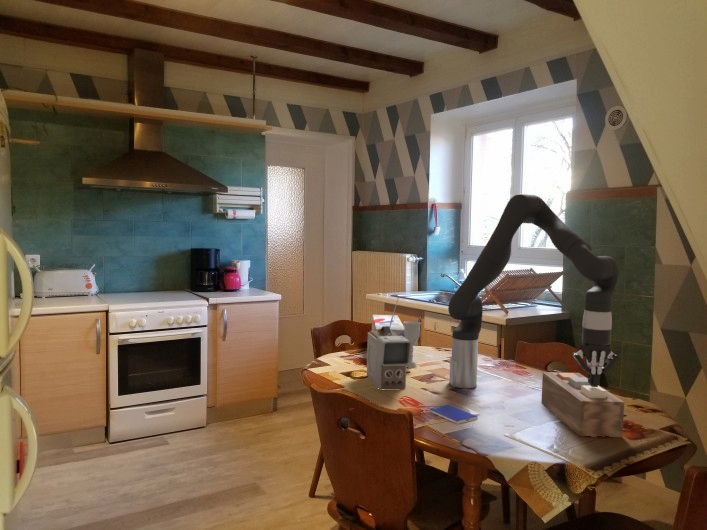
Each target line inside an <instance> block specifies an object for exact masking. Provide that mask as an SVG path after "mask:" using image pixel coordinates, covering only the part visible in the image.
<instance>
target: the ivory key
mask: <svg viewBox="0 0 707 530" xmlns="http://www.w3.org/2000/svg"><path fill="white" fill-rule="evenodd" d="M601 387H602V386H600V385H599V386H598V387H592V386H587V385H581V394H582V395H584V396H585V397H587V398H606V389H605V388H604V387H602V388H601ZM604 389H605V390H604Z"/></svg>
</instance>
